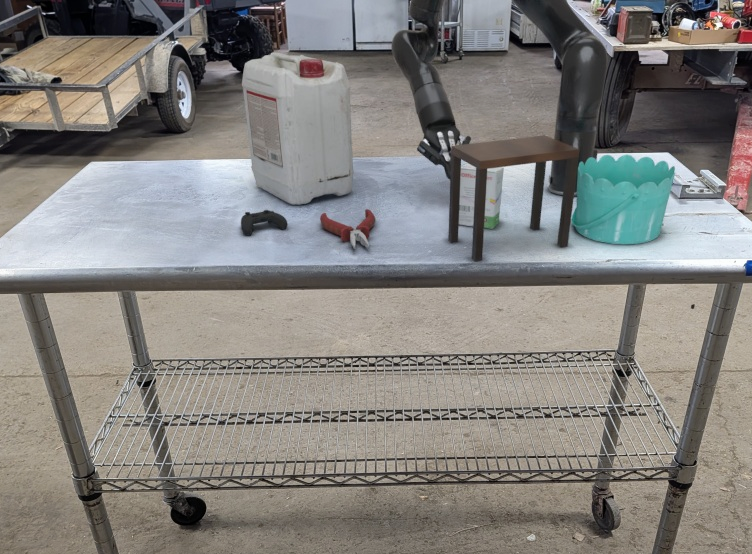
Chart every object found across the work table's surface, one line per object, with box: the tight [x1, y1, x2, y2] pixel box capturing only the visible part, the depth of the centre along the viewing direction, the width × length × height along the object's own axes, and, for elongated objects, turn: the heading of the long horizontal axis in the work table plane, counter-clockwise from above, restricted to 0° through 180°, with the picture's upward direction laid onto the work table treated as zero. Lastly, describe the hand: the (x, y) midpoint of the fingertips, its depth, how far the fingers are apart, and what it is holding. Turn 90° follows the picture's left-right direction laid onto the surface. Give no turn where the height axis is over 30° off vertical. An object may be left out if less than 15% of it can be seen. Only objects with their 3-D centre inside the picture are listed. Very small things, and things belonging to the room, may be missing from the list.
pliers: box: [319, 208, 376, 251], centre depth 145 cm, size 12×20×3 cm, turn 12°
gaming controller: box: [240, 209, 288, 236], centre depth 151 cm, size 10×5×6 cm
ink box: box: [459, 162, 505, 230], centre depth 148 cm, size 9×5×12 cm, turn 65°
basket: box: [571, 154, 676, 246], centre depth 143 cm, size 19×18×13 cm
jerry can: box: [241, 52, 355, 206], centre depth 166 cm, size 24×19×30 cm
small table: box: [447, 135, 579, 262], centre depth 136 cm, size 20×12×18 cm, turn 110°
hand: (455, 178), depth 157 cm, fingers closed
